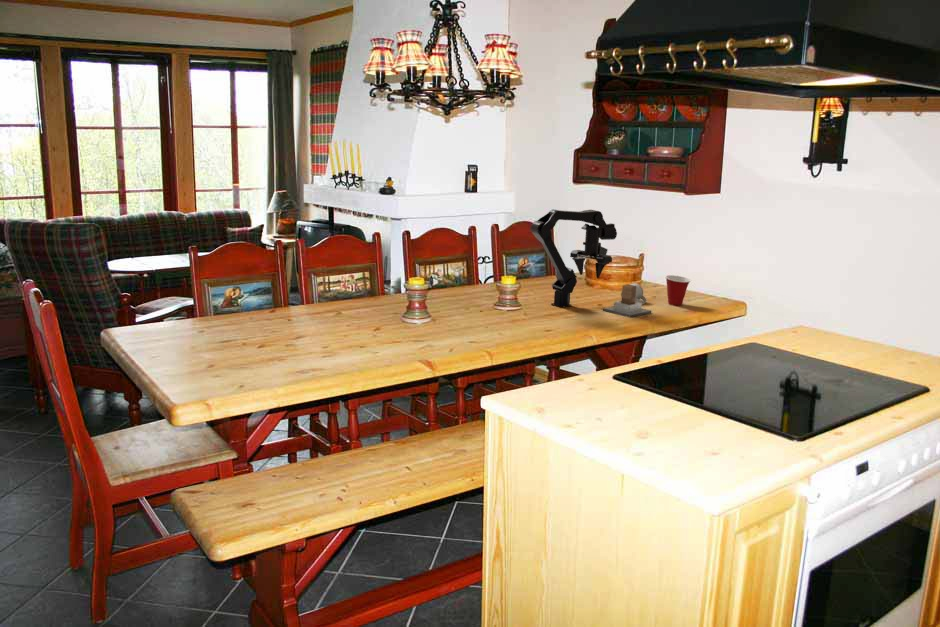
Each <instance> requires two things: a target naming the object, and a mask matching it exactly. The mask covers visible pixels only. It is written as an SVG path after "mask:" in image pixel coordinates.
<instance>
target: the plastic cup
mask: <svg viewBox="0 0 940 627" xmlns="http://www.w3.org/2000/svg"><path fill="white" fill-rule="evenodd" d="M665 279H666V292H667V293H666V294H667V304H668V305H669V306H674V307H675V306H676V307H678V306H682V305H683V303H684V299H685V296H686V293H687V290H688V289H687V288H688V286H689V284H690V283H691V281H692V280H691V278H689V277H685V276H681V275H680V276H679V275H665Z"/></svg>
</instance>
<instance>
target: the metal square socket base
mask: <svg viewBox="0 0 940 627" xmlns="http://www.w3.org/2000/svg"><path fill="white" fill-rule="evenodd" d="M642 305H643V304H642V303H639V302H636V301H635V304H630V305H629V304H624V303H621V300H616V301H613V306H608V307H603V309H602V310H603V311H604V312H607V313H611V314H616V315H619V316H623V317H626V316H627V317H628V318H635V317H640V316H642V315H643V316H644V315H649V314H652V310H650V309H646V308H642ZM639 315H640V316H639ZM634 316H635V317H634Z"/></svg>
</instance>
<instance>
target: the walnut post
mask: <svg viewBox="0 0 940 627" xmlns="http://www.w3.org/2000/svg"><path fill="white" fill-rule="evenodd" d="M621 291H622V297H621V300H620V301H621V303H624V304H629V305H630V304H635V302H636V301H635V298H636V286H633V285H630V284H624V285H622V289H621Z"/></svg>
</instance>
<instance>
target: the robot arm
mask: <svg viewBox="0 0 940 627" xmlns="http://www.w3.org/2000/svg"><path fill="white" fill-rule="evenodd" d="M603 215H604V214H603V213H602V211H599V210H595V209H586V210H585V209H584V210H581V211H580V210H579V211H573V210H559V209H551V210H549V211H547V213H545V214H544V215H542V216H541V217H539V218H538V219H537V220H536V221H535V220H534V222H532V224H531V226H530V232H531V233H532V235H534V237H535V238H536V240H538V241H539V242H540V243H541V244H542V246H543V249H544V251H545V252H546V254H547V257H548V258H549V260H550V262H551V264H552V266H553V268H554V269H555V277H556V280H555V281H554V282H553V283H552V284H551V287H552V290H554V294H553V295H554V299H553V303H550V305H552V306H555V307H558V308H567V307H572V306H573V304H571V303H570V302H571V294H572V293H573V292H574V289H575V287H576V285H577V283H578V279H577V278H578V276H577V275H576V274H575V270H574V269H573V268H570V267H568V266H566V264H565V262H564V260H563V258H562V256H561V254H560V252H559V250H558V248H557V247H556V245H555V242H554V240H553V232H552V229H553V228H555V226H556V224H557V223H558V221H559V220H560V221H575V222H576V221H577V222H580V221H581V222H583V223H585V224H583V226H581V227H580V228H581V229H582V230H585V236H584V237H585V238H584V241H583V242H582V245H583V246H584V249H583V250H581V249H574V250H571V252H570V255H569V256H570V258H572V260H573V262H574V263H575V266H576V267H577V270H578V272H579V275H580V276H582V275H583V274H584V264H585V261H586V260H587V259H591V260H595V261H596V262H595V275H596V276H595V277H596V279H600V276H601V274H602V272H603V270H604V269H605V267H606V266H607V265H609V264H610V263H612V262H613V257H612V256H611V254H610V255H608V251H609V249H608V248H605V247H603V246H602V243H601V242H599V241H600V240H601V241H605V240H608V241H610V240H615V239H616V238H617V235H618V231H617V229H616V226H615V223H611V222H610V223H606V222H607V221H605V219H604V216H603ZM590 224H591V225H590Z"/></svg>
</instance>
